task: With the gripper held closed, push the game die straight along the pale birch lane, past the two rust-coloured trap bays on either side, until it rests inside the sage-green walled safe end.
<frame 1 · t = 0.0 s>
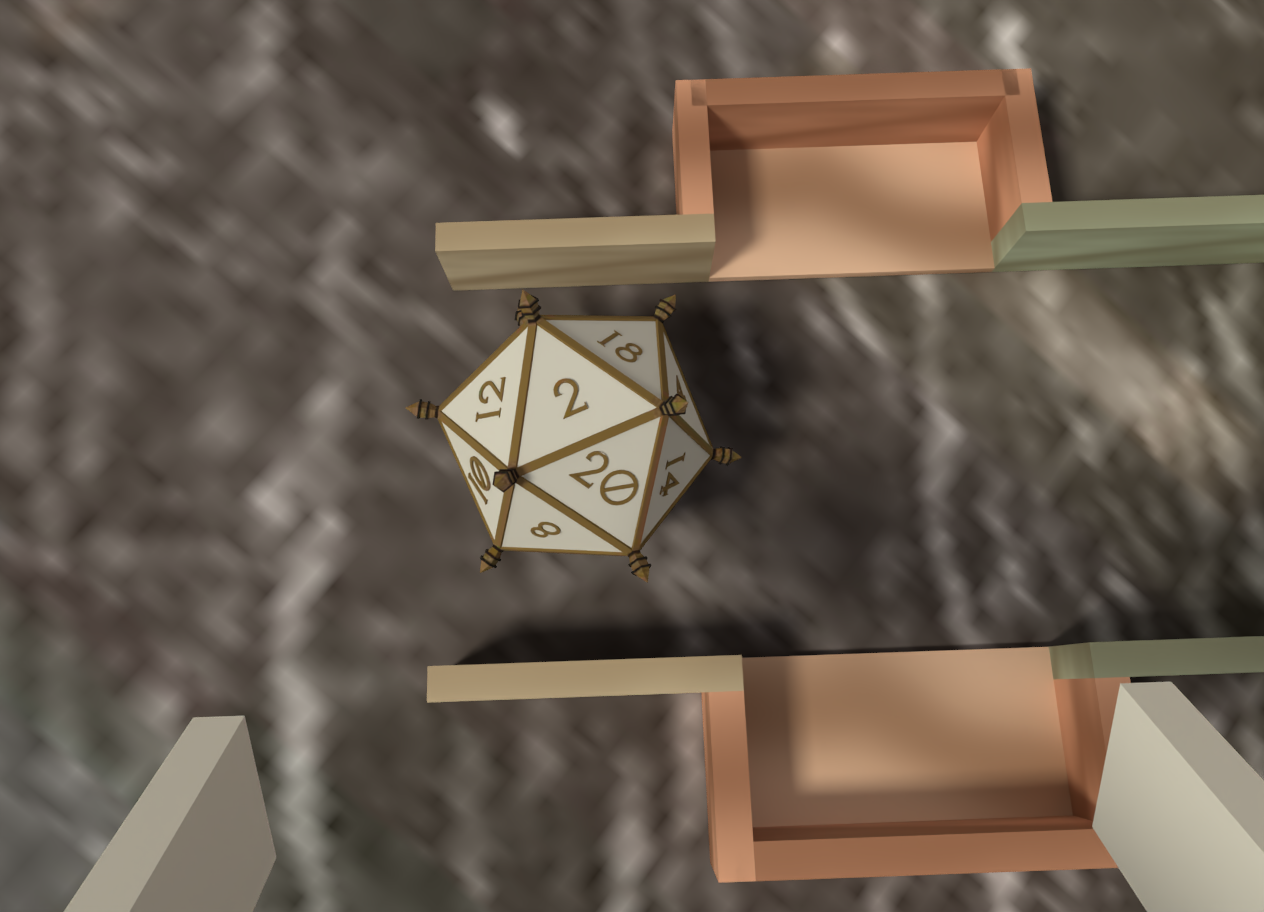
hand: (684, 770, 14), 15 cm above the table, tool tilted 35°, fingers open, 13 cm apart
trap box: (897, 454, 31), on the table
game die: (585, 466, 31), on the table
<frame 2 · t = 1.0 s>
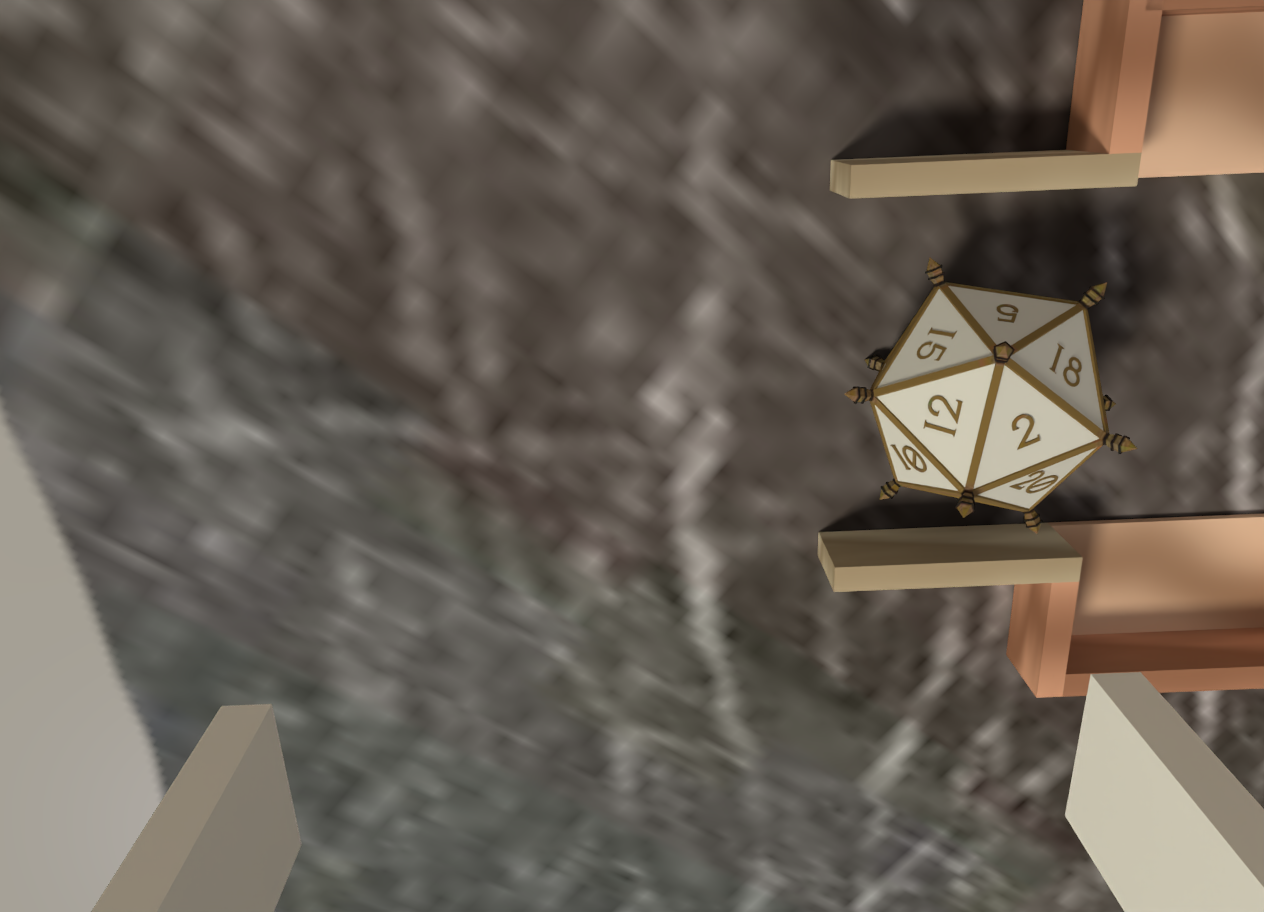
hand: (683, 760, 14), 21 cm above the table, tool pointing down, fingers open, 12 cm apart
trap box: (1230, 355, 34), on the table
game die: (943, 365, 34), on the table
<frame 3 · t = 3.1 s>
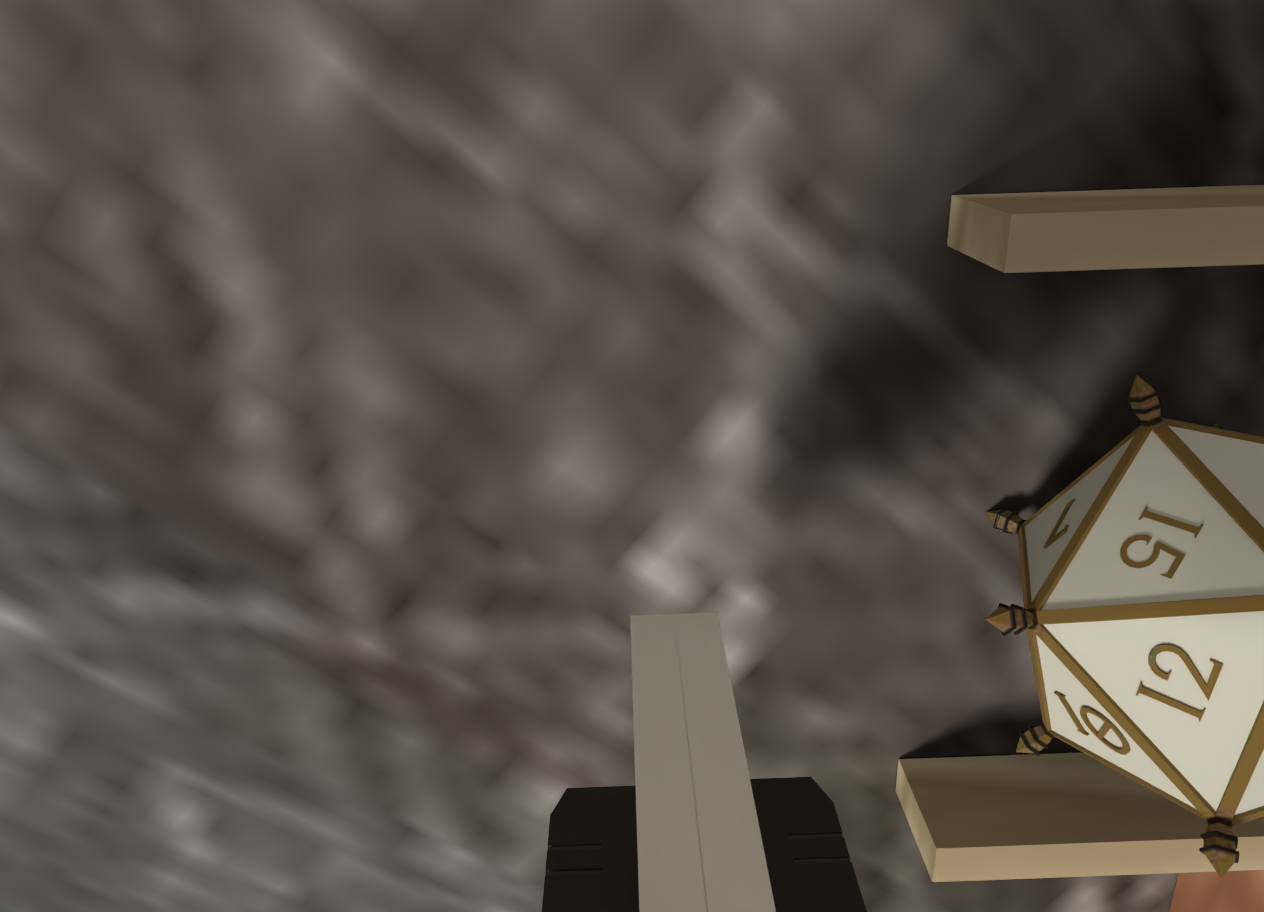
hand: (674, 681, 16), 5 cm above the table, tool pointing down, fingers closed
game die: (1109, 519, 22), on the table
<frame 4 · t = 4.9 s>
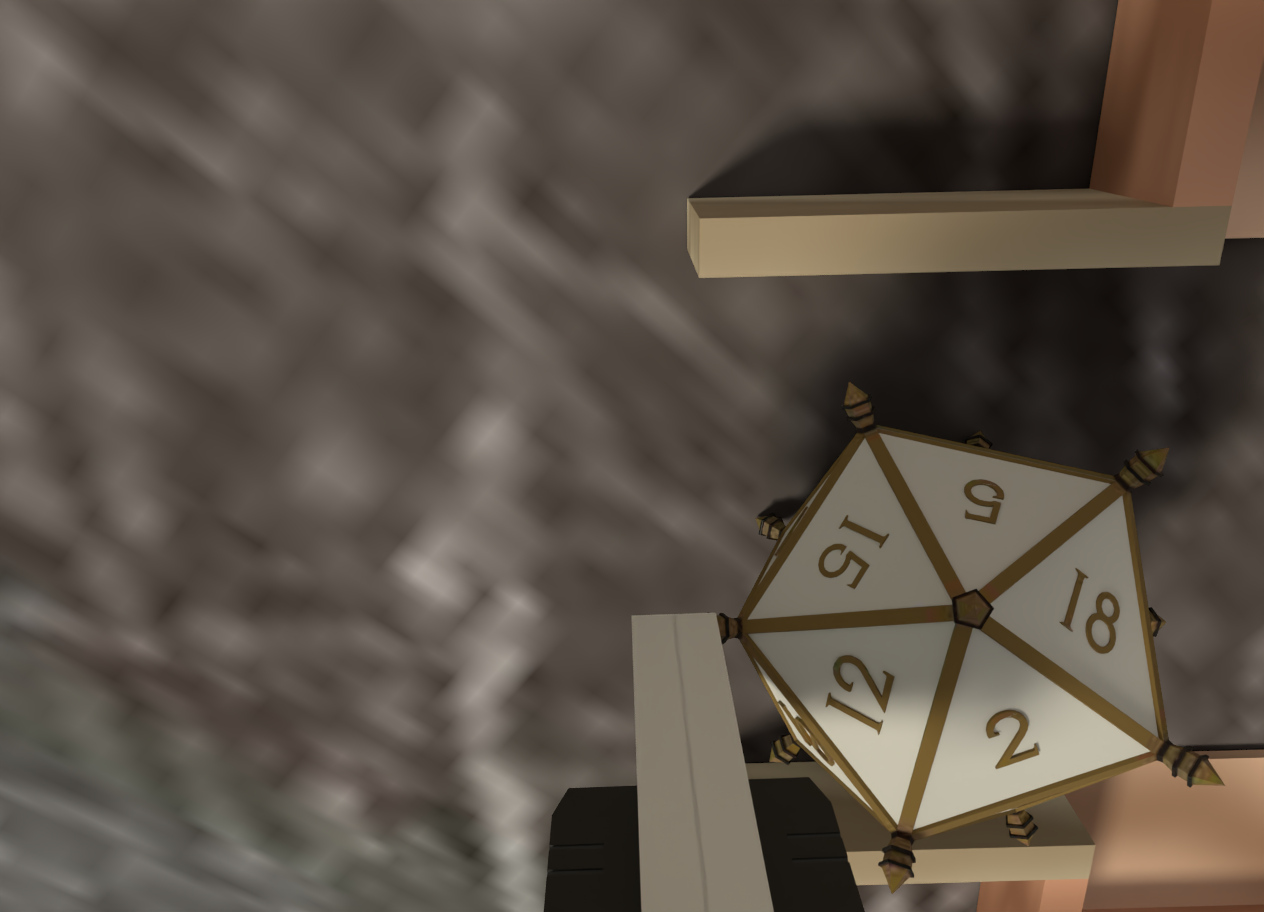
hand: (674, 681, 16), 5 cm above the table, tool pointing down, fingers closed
game die: (884, 527, 21), on the table, touching gripper
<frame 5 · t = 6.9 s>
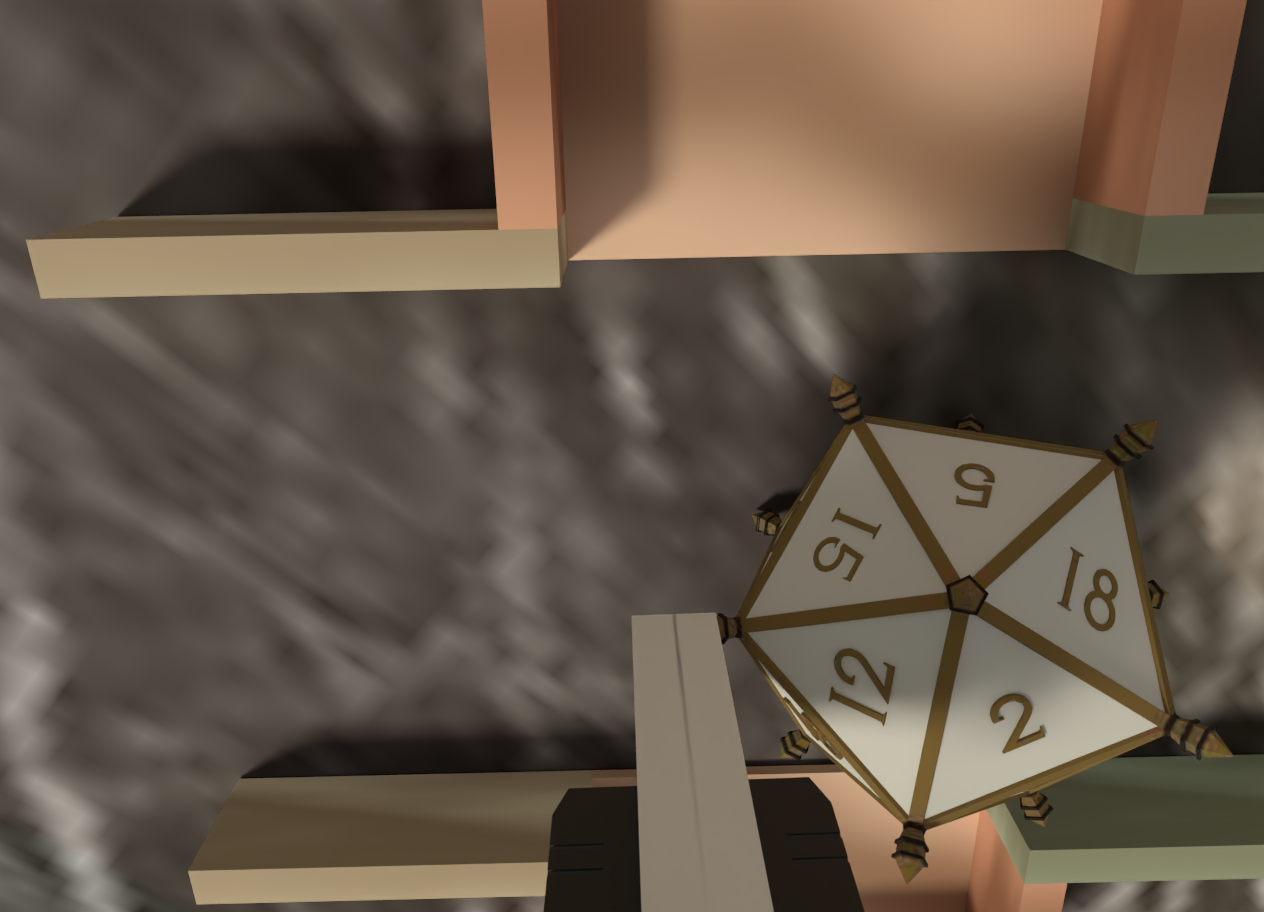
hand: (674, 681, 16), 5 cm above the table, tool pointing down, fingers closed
trap box: (842, 536, 21), on the table
game die: (881, 515, 21), on the table, touching gripper
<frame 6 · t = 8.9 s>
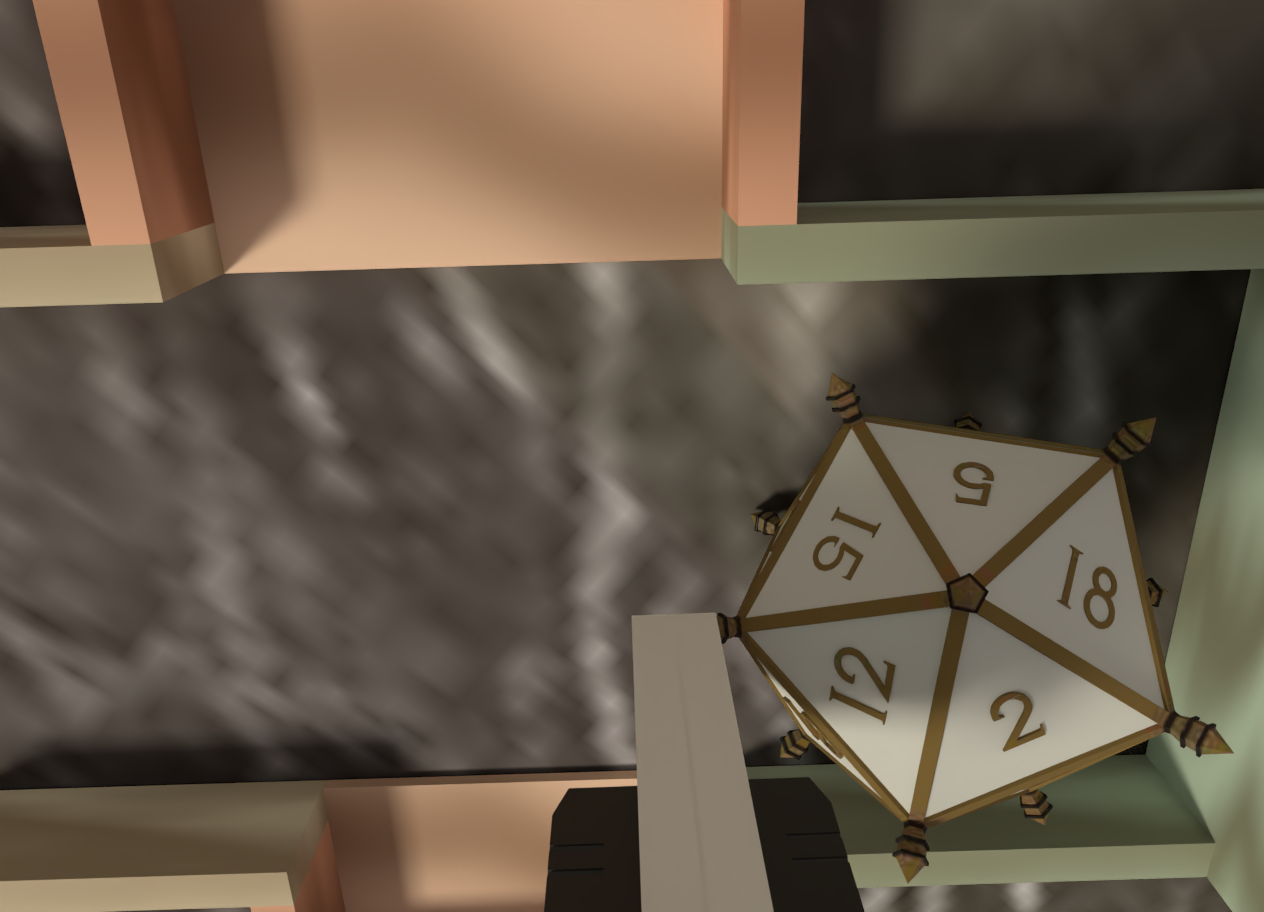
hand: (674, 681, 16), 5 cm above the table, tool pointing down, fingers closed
trap box: (544, 546, 21), on the table
game die: (879, 514, 21), on the table, touching gripper
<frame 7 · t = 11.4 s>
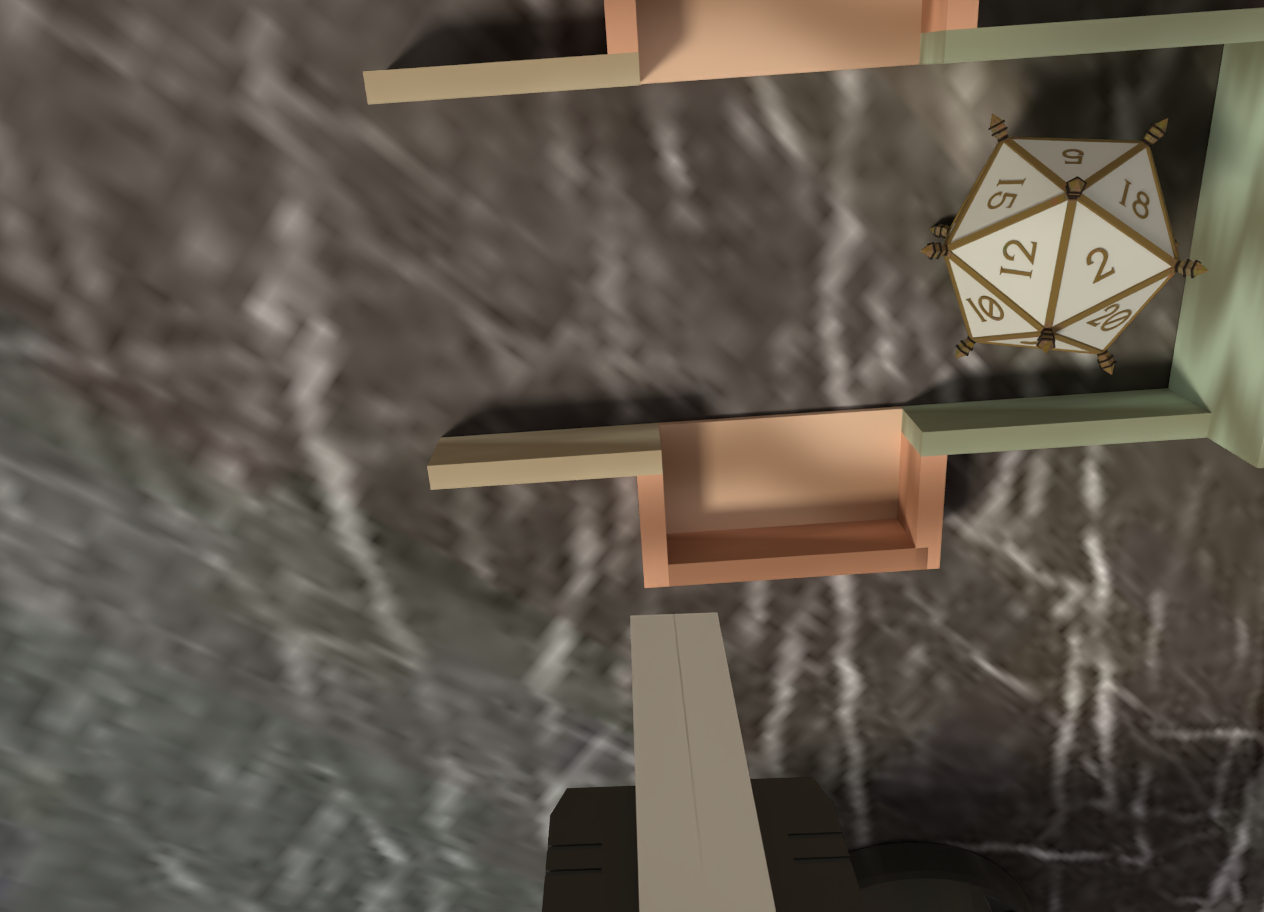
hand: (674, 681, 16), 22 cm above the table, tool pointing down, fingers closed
trap box: (804, 254, 36), on the table
game die: (1006, 228, 36), on the table
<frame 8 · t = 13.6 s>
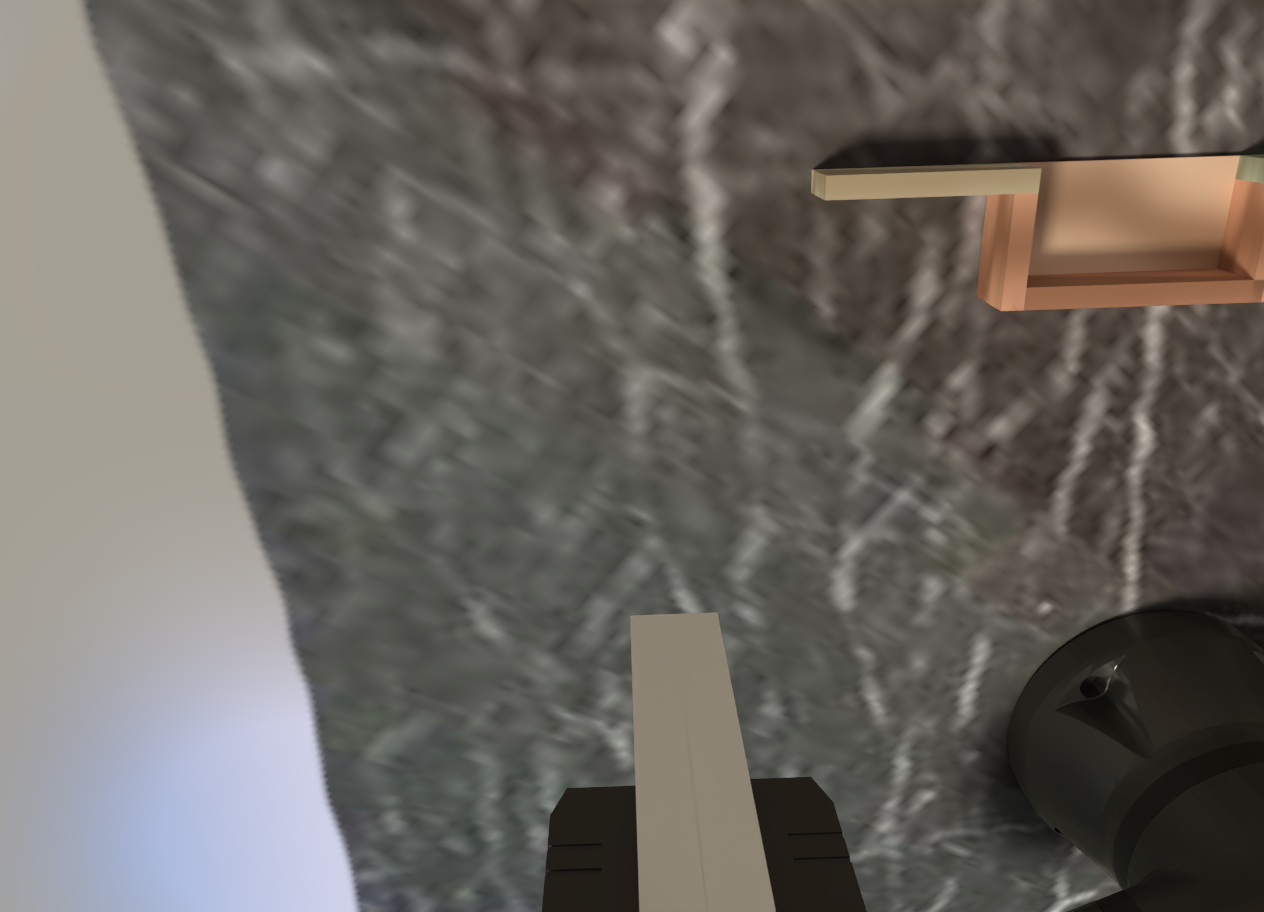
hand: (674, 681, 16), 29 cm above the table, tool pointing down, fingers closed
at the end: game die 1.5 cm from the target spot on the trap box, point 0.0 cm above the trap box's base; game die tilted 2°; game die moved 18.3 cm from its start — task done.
